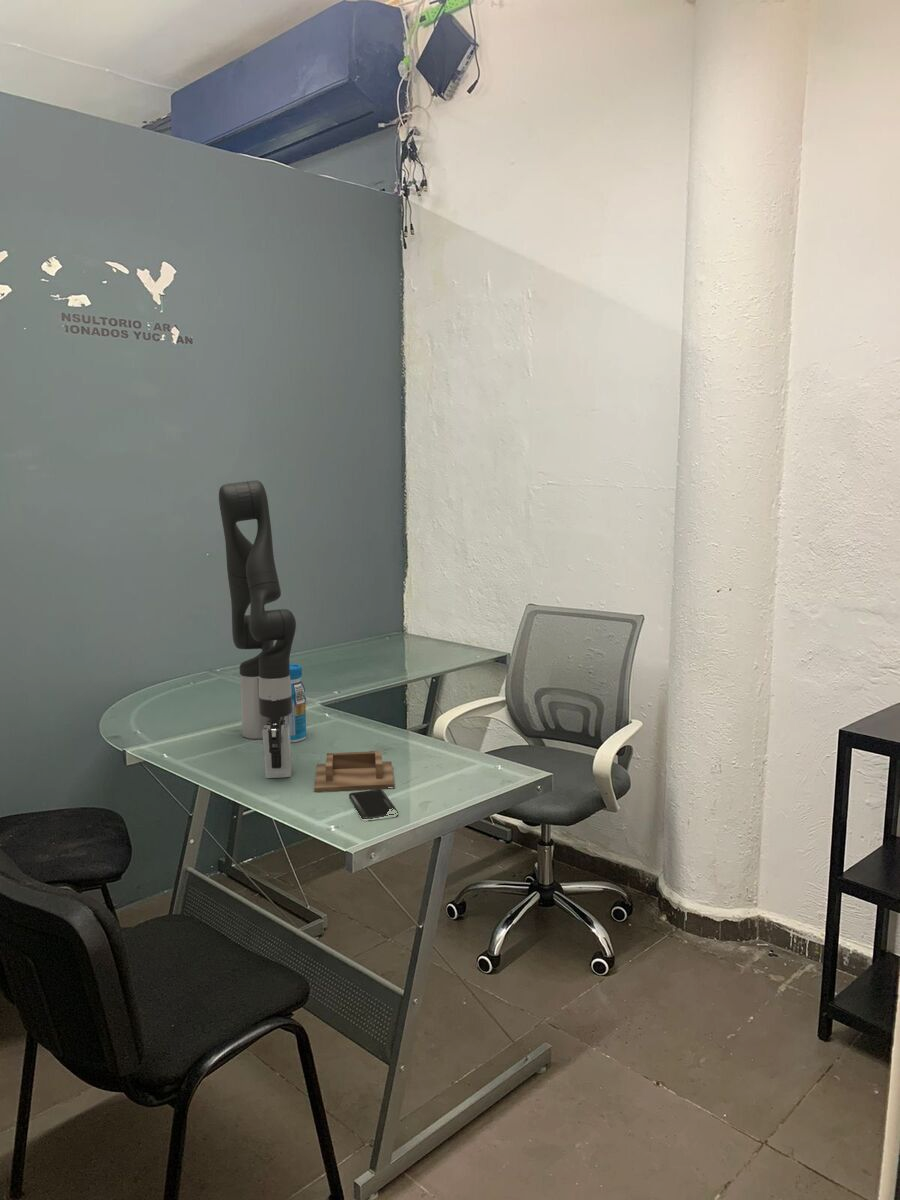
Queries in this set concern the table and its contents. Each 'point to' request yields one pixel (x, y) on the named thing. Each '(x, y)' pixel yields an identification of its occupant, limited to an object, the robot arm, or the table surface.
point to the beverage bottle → (297, 706)
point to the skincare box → (285, 755)
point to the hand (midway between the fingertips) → (277, 763)
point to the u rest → (353, 772)
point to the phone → (371, 803)
